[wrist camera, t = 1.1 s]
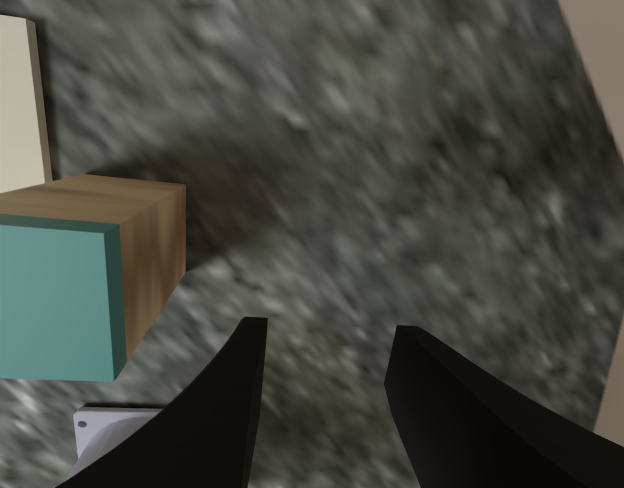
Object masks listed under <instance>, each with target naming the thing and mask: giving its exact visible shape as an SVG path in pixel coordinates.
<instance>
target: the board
mask: <svg viewBox="0 0 624 488" xmlns="http://www.w3.org/2000/svg"><path fill="white" fill-rule="evenodd" d="M52 181H53V180H52V171H51V162H50V153H49V144H48V135H47V126H46V117H45V108H44V99H43V90H42V82H41V73H40V64H39V55H38V46H37V37H36V28H35V23H34V22H32V21H30V20H28V19H25V18H18V17H12V16H5V15H0V193H4V192H8V191H13V190H17V189H21V188H26V187H30V186H34V185H39V184H43V183H47V182H52Z"/></svg>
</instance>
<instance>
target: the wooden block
mask: <svg viewBox="0 0 624 488" xmlns="http://www.w3.org/2000/svg"><path fill="white" fill-rule="evenodd" d="M185 272H186V184H177V183H167V182H157V181H147V180H138V179H128V178H118V177H108V176H98V175H88V174H82V175H78V176H74V177H69V178H65V179H61V180H56V181H52V182H47V183H43V184H39V185H34V186H30V187H26V188H21V189H17V190H13V191H8V192H4V193H0V378H10V379H42V380H74V381H106V382H114V381H115V380H116V378H117V376H118V375H119V373H120V372H121V370H122V369H123V367H124V366H125V364H126V363H127V361H128V360H129V358H130V357H131V355H132V353H133V352H134V350H135V349H136V347H137V346H138V344H139V343H140V341H141V340H142V338H143V337H144V335H145V334H146V332H147V330H148V329H149V327H150V326H151V324H152V323H153V321H154V320H155V318H156V317H157V315H158V314H159V312H160V311H161V309H162V307H163V306H164V304H165V303H166V301H167V300H168V298H169V297H170V295H171V294H172V292H173V291H174V289H175V288H176V286H177V284H178V283H179V281H180V280H181V278H182V277H183V275H184V274H185Z"/></svg>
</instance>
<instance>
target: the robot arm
mask: <svg viewBox="0 0 624 488" xmlns="http://www.w3.org/2000/svg"><path fill="white" fill-rule="evenodd" d="M267 321H268V318H260V317H244V318H243V319H242V320H241V321H240V323H239V325H238V326H237V328H236V329H235V331H234V332H233V334H232V335H231V337H230V338H229V339H228V341H227V342H226V343H225V345H224V346H223V347H222V348H221V350H220V351H219V352H218V353H217V355H216V356H215V357H214V358H213V360H212V361H211V362H210V363H209V364H208V365H207V366H206V367H205V368H204V369H203V371H202V372H201V373H200V374H199V375H198V376H197V377H196V378H195V379H194V380H193V381H192V382H191V383H190V384H189V385H188V386H187V387H186V388H185V389H184V390H183V391H182V392H181V393H180V394H179V395H178V396H177V397H176V398H175V399H174V400H173V401H172V402H170V403H169V404H168V405H167V406H166V407H165V408H164V409H146V408H102V407H81V408H79V409H78V410H77V411H76V412H75V414H74V417H73V418H74V426H75V435H76V443H77V451H78V461H77V462H76V464H75V465H74V467H73V469H72V470H71V472H70V474H69V475H68V477H67V479H66V480H65V482H63V483H62V484H60V485H59V486H57V487H55V488H247V486H248V481H249V475H250V469H251V463H252V457H253V451H254V445H255V439H256V433H257V427H258V421H259V415H260V405H261V393H262V382H263V371H264V360H265V349H266V338H267ZM384 386H385V390H386V394H387V398H388V402H389V405H390V409H391V413H392V416H393V419H394V422H395V424H396V427H397V429H398V432H399V434H400V437H401V439H402V442H403V444H404V447H405V449H406V452H407V454H408V457H409V459H410V462H411V464H412V466H413V469H414V471H415V474H416V476H417V479H418V481H419V484H420V486H421V488H624V447H622V446H620V445H618V444H616V443H614V442H612V441H610V440H608V439H605V438H603V437H601V436H599V435H597V434H595V433H593V432H591V431H589V430H587V429H585V428H583V427H581V426H579V425H577V424H575V423H573V422H571V421H569V420H567V419H566V418H564V417H562V416H560V415H558V414H556V413H554V412H553V411H551V410H549V409H547V408H545V407H543V406H542V405H540V404H538V403H536V402H534V401H533V400H531V399H529V398H528V397H526V396H524V395H522V394H521V393H519V392H518V391H516V390H514V389H513V388H511V387H510V386H508V385H506V384H505V383H503V382H501V381H500V380H498V379H497V378H495V377H494V376H492V375H491V374H489V373H487V372H486V371H484V370H483V369H481V368H480V367H478V366H477V365H475V364H474V363H472V362H471V361H469V360H468V359H467V358H465V357H464V356H462V355H461V354H459V353H458V352H456V351H455V350H453V349H452V348H450V347H449V346H448V345H446V344H445V343H443V342H442V341H440V340H439V339H437V338H436V337H434V336H433V335H431V334H430V333H428V332H426V331H425V330H423V329H421V328H419V327H418V326H402V325H397V328H396V332H395V337H394V341H393V346H392V350H391V355H390V359H389V364H388V368H387V373H386V377H385V382H384ZM83 421H85V422H83Z"/></svg>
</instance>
